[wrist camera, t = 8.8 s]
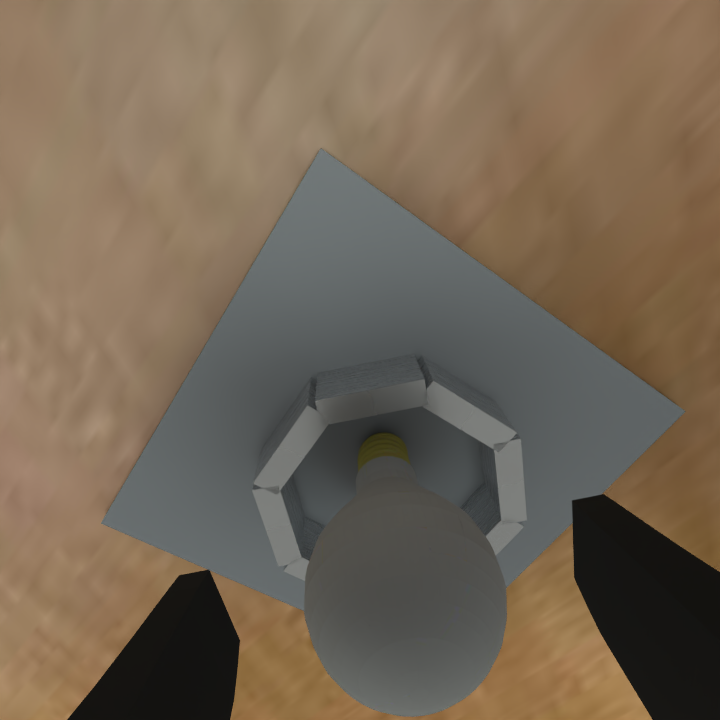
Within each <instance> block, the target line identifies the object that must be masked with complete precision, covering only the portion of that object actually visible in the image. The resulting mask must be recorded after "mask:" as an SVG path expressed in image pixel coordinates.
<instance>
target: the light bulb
mask: <svg viewBox="0 0 720 720" xmlns="http://www.w3.org/2000/svg"><path fill="white" fill-rule="evenodd" d="M357 463H358V474H357V477H356V493H357V495H356V496H355V497H354V498H353V499H352V500H350V501H349V502H348V503H347V504H346V505H345V506H344V507H342V508H341V509H340V510H339V511H338V513H337V514H336V515H335V516H334V517H333V518H332V520H331V521H330V522H329V523H328V524H327V526H326V527H325V528H324V529H323V531H322V532H321V534H320V535H319V537H318V540H317V542H316V544H315V547H314V550H313V553H312V555H311V558H310V561H309V564H308V567H307V571H306V576H305V594H304V614H305V620H306V623H307V627H308V630H309V633H310V637H311V640H312V643H313V646H314V649H315V651H316V653H317V655H318V657H319V658H320V660H321V662H322V664H323V666H324V668H325V669H326V671H327V672H328V674H329V675H330V676H331V677H332V679H333V680H334V681H335V682H336V683H337V684H338V685H339V686H340V687H341V688H342V689H343V690H344V691H345V692H346V693H347V694H348V695H350V696H351V697H352V698H354V699H355V700H357V701H358V702H360V703H361V704H363V705H365V706H367V707H369V708H371V709H373V710H377V711H380V712H383V713H388V714H392V715H397V716H412V717H414V716H424V715H429V714H433V713H436V712H440V711H442V710H444V709H447V708H449V707H451V706H452V705H454V704H456V703H458V702H459V701H461V700H463V699H464V698H466V697H467V696H468V695H470V694H471V693H472V692H473V691H474V690H475V689H476V688H477V687H478V686H479V685H480V684H481V682H482V681H483V680H484V679H485V677H486V676H487V675H488V673H489V671H490V669H491V667H492V665H493V664H494V662H495V660H496V658H497V656H498V654H499V651H500V649H501V646H502V642H503V636H504V631H505V625H506V617H507V606H506V585H505V581H504V577H503V574H502V572H501V569H500V566H499V564H498V561H497V558H496V555H495V553H494V550H493V548H492V546H491V544H490V542H489V541H488V539H487V538H486V537H485V535H484V534H483V533H482V531H481V530H480V529H479V527H478V526H477V525H476V523H475V522H474V521H473V520H472V518H471V517H470V516H469V515H468V514H467V513H466V512H464V511H463V510H462V509H461V508H459V507H458V506H456V505H455V504H453V503H452V502H450V501H448V500H447V499H445V498H444V497H442V496H440V495H438V494H436V493H434V492H432V491H429V490H427V489H425V488H423V487H421V486H419V485H418V481H417V477H416V473H415V471H414V469H413V468H412V466H411V464H410V461H409V457H408V451H407V447H406V445H405V443H404V442H403V440H402V439H401V438H399V437H398V436H396V435H394V434H391V433H386V432H382V433H377V434H374V435H372V436H370V437H368V438H367V439H366V440H365V441H364V442H363V443H362V445H361V447H360V449H359V451H358V460H357Z"/></svg>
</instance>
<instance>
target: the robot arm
mask: <svg viewBox="0 0 720 720" xmlns="http://www.w3.org/2000/svg"><path fill="white" fill-rule="evenodd" d="M572 519H573V549H574V578H575V580H576V583H577V585H578V587H579V589H580V591H581V593H582V596H583V598H584V600H585V602H586V604H587V606H588V609H589V611H590V613H591V615H592V617H593V619H594V621H595V623H596V625H597V627H598V629H599V631H600V633H601V635H602V636H603V638H604V640H605V642H606V643H607V645H608V647H609V648H610V650H611V652H612V653H613V655H614V657H615V658H616V660H617V662H618V663H619V665H620V667H621V668H622V670H623V671H624V673H625V675H626V676H627V678H628V680H629V681H630V683H631V685H632V686H633V688H634V690H635V691H636V693H637V695H638V696H639V698H640V699H641V701H642V703H643V704H644V706H645V708H646V709H647V711H648V713H649V714H650V716H651V717H652V719H653V720H720V572H719V571H717V570H716V569H714V568H712V567H711V566H709V565H708V564H706V563H705V562H703V561H702V560H700V559H698V558H697V557H695V556H694V555H692V554H691V553H689V552H688V551H686V550H685V549H683V548H682V547H680V546H679V545H677V544H676V543H674V542H673V541H671V540H670V539H668V538H667V537H666V536H664V535H663V534H661V533H660V532H658V531H657V530H655V529H654V528H652V527H651V526H649V525H648V524H646V523H645V522H644V521H642V520H641V519H639V518H638V517H636V516H635V515H633V514H632V513H630V512H629V511H627V510H626V509H625V508H623V507H622V506H620V505H619V504H617V503H616V502H614V501H613V500H611V499H610V498H608V497H607V496H605V495H604V494H602V495H597V496H592V497H586V498H581V499H576V500H572ZM239 644H240V640H239V637H238V635H237V633H236V630H235V628H234V626H233V623H232V621H231V619H230V617H229V614H228V612H227V610H226V607H225V605H224V603H223V600H222V598H221V596H220V594H219V591H218V589H217V587H216V584H215V582H214V580H213V577H212V575H211V573H210V571H209V570H205V571H200V572H194V573H189V574H184V575H179V577H178V578H177V579H176V580H175V582H174V583H173V584H172V585H171V587H170V588H169V589H168V591H167V592H166V593H165V595H164V596H163V597H162V599H161V600H160V601H159V603H158V604H157V605H156V607H155V608H154V609H153V611H152V612H151V613H150V615H149V616H148V617H147V619H146V620H145V621H144V623H143V624H142V625H141V627H140V628H139V629H138V631H137V632H136V633H135V634H134V636H133V637H132V638H131V640H130V641H129V642H128V644H127V645H126V646H125V648H124V649H123V650H122V651H121V653H120V654H119V655H118V657H117V658H116V659H115V661H114V662H113V663H112V664H111V666H110V667H109V668H108V670H107V671H106V672H105V674H104V675H103V676H102V677H101V679H100V680H99V681H98V683H97V684H96V685H95V686H94V688H93V689H92V690H91V691H90V693H89V694H88V695H87V696H86V698H85V699H84V700H83V701H82V702H81V704H80V705H79V706H78V707H77V708H76V710H75V711H74V712H73V713H72V715H71V716H70V717H69V718H68V719H67V720H230V717H231V712H232V707H233V702H234V695H235V686H236V677H237V667H238V655H239Z"/></svg>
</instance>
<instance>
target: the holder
mask: <svg viewBox="0 0 720 720" xmlns="http://www.w3.org/2000/svg"><path fill="white" fill-rule="evenodd" d="M685 412H686V411H684V410H683V409H682V408H680V407H679V406H677V405H676V404H675V403H673V402H672V401H670V400H669V399H668V398H666V397H665V396H663V395H662V394H661V393H659V392H658V391H657V390H655V389H654V388H652V387H651V386H650V385H648V384H647V383H645V382H644V381H643V380H641V379H640V378H639V377H637V376H636V375H634V374H633V373H632V372H630V371H629V370H627V369H626V368H625V367H623V366H622V365H621V364H619V363H618V362H616V361H615V360H614V359H612V358H611V357H609V356H608V355H607V354H605V353H604V352H603V351H601V350H600V349H598V348H597V347H596V346H594V345H593V344H591V343H590V342H589V341H587V340H586V339H584V338H583V337H582V336H580V335H579V334H578V333H576V332H575V331H573V330H572V329H571V328H569V327H568V326H566V325H565V324H564V323H562V322H561V321H560V320H558V319H557V318H555V317H554V316H553V315H551V314H550V313H548V312H547V311H546V310H544V309H543V308H542V307H540V306H539V305H537V304H536V303H535V302H533V301H532V300H530V299H529V298H528V297H526V296H525V295H524V294H522V293H521V292H519V291H518V290H517V289H515V288H514V287H512V286H511V285H510V284H508V283H507V282H505V281H504V280H503V279H501V278H500V277H499V276H497V275H496V274H494V273H493V272H492V271H490V270H489V269H487V268H486V267H485V266H483V265H482V264H481V263H479V262H478V261H476V260H475V259H474V258H472V257H471V256H469V255H468V254H467V253H465V252H464V251H463V250H461V249H460V248H458V247H457V246H456V245H454V244H453V243H451V242H450V241H449V240H447V239H446V238H445V237H443V236H442V235H440V234H439V233H438V232H436V231H435V230H433V229H432V228H431V227H429V226H428V225H426V224H425V223H424V222H422V221H421V220H420V219H418V218H417V217H415V216H414V215H413V214H411V213H410V212H408V211H407V210H406V209H404V208H403V207H402V206H400V205H399V204H397V203H396V202H395V201H393V200H392V199H390V198H389V197H388V196H386V195H385V194H384V193H382V192H381V191H379V190H378V189H377V188H375V187H374V186H372V185H371V184H370V183H368V182H367V181H366V180H364V179H363V178H361V177H360V176H359V175H357V174H356V173H354V172H353V171H352V170H350V169H349V168H347V167H346V166H345V165H343V164H342V163H341V162H339V161H338V160H336V159H335V158H334V157H332V156H331V155H329V154H328V153H327V152H325V151H324V150H323V149H320V151H319V153H318V154H317V156H316V158H315V159H314V161H313V163H312V164H311V166H310V168H309V170H308V171H307V173H306V175H305V176H304V178H303V180H302V181H301V183H300V185H299V187H298V188H297V190H296V192H295V193H294V195H293V197H292V199H291V200H290V202H289V204H288V205H287V207H286V209H285V210H284V212H283V214H282V216H281V217H280V219H279V221H278V222H277V224H276V226H275V227H274V229H273V231H272V233H271V234H270V236H269V238H268V239H267V241H266V243H265V245H264V246H263V248H262V250H261V251H260V253H259V255H258V256H257V258H256V260H255V262H254V263H253V265H252V267H251V268H250V270H249V272H248V273H247V275H246V277H245V279H244V280H243V282H242V284H241V285H240V287H239V289H238V291H237V292H236V294H235V296H234V297H233V299H232V301H231V302H230V304H229V306H228V308H227V309H226V311H225V313H224V314H223V316H222V318H221V320H220V321H219V323H218V325H217V326H216V328H215V330H214V331H213V333H212V335H211V337H210V338H209V340H208V342H207V343H206V345H205V347H204V348H203V350H202V352H201V354H200V355H199V357H198V359H197V360H196V362H195V364H194V366H193V367H192V369H191V371H190V372H189V374H188V376H187V377H186V379H185V381H184V383H183V384H182V386H181V388H180V389H179V391H178V393H177V394H176V396H175V398H174V400H173V401H172V403H171V405H170V406H169V408H168V410H167V412H166V413H165V415H164V417H163V418H162V420H161V422H160V423H159V425H158V427H157V429H156V430H155V432H154V434H153V435H152V437H151V439H150V440H149V442H148V444H147V446H146V447H145V449H144V451H143V452H142V454H141V456H140V458H139V459H138V461H137V463H136V464H135V466H134V468H133V469H132V471H131V473H130V475H129V476H128V478H127V480H126V481H125V483H124V485H123V486H122V488H121V490H120V492H119V493H118V495H117V497H116V498H115V500H114V502H113V504H112V505H111V507H110V509H109V510H108V512H107V514H106V515H105V517H104V519H103V521H102V522H101V524H104V525H106V526H108V527H111V528H113V529H115V530H118V531H120V532H122V533H125V534H127V535H129V536H131V537H134V538H136V539H138V540H141V541H143V542H145V543H148V544H150V545H152V546H155V547H157V548H159V549H162V550H164V551H166V552H169V553H171V554H173V555H176V556H178V557H180V558H182V559H185V560H187V561H189V562H192V563H194V564H196V565H199V566H201V567H203V568H206V569H208V570H210V571H213V572H215V573H217V574H220V575H222V576H224V577H227V578H229V579H231V580H233V581H236V582H238V583H240V584H243V585H245V586H247V587H250V588H252V589H254V590H257V591H259V592H261V593H264V594H266V595H268V596H271V597H273V598H275V599H278V600H280V601H282V602H284V603H287V604H289V605H291V606H294V607H296V608H298V609H301V610H303V611H304V594H305V576H306V571H307V567H308V564H309V561H310V558H311V555H312V553H313V550H314V547H315V544H316V542H317V540H318V537H319V535H320V534H321V532H322V531H323V529H324V528H325V527H326V526H327V524H328V523H329V522H330V521H331V520H332V518H333V517H334V516H335V515H336V514H337V513H338V511H339V510H340V509H341V508H342V507H344V506H345V505H346V504H347V503H348V502H349V501H350V500H352V499H353V498H354V497H355V496H356V495H357V493H356V477H357V474H358V463H357V460H358V451H359V449H360V447H361V445H362V443H363V442H364V441H365V440H366V439H367V438H368V437H370V436H372V435H374V434H377V433H382V432H386V433H391V434H394V435H396V436H398V437H399V438H401V439H402V440H403V442H404V443H405V445H406V447H407V451H408V457H409V461H410V464H411V466H412V468H413V469H414V471H415V473H416V477H417V481H418V485H419V486H421V487H423V488H425V489H427V490H429V491H432V492H434V493H436V494H438V495H440V496H442V497H444V498H445V499H447V500H448V501H450V502H452V503H453V504H455V505H456V506H458V507H459V508H461V509H462V510H463V511H464V512H466V513H467V514H468V515H469V516H470V517H471V518H472V520H473V521H474V522H475V523H476V525H477V526H478V527H479V529H480V530H481V531H482V533H483V534H484V535H485V537H486V538H487V539H488V541H489V542H490V544H491V546H492V548H493V550H494V553H495V555H496V558H497V561H498V564H499V566H500V569H501V572H502V574H503V577H504V581H505V585H506V588H507V587H508V586H509V585H510V584H511V583H512V582H513V581H514V580H515V579H516V578H517V577H518V576H519V575H520V574H521V573H522V572H523V571H524V570H525V569H526V568H527V567H528V566H529V565H530V564H531V563H532V562H533V561H534V560H535V559H536V558H537V557H538V556H539V555H540V554H541V553H542V552H543V551H544V550H545V549H546V548H547V547H548V546H549V545H550V544H551V543H552V542H553V541H554V540H555V539H556V538H557V537H558V536H559V535H560V534H561V533H563V532H564V531H565V530H566V529H567V528H568V527H569V526H570V525H571V524H572V523H573V519H572V500H576V499H581V498H586V497H592V496H597V495H601V494H602V493H603V492H604V491H605V490H606V489H607V488H608V487H609V486H610V485H611V484H612V483H613V482H614V481H615V480H616V479H617V478H618V477H619V476H620V475H621V474H623V473H624V472H625V471H626V470H627V469H628V468H629V467H630V466H631V465H632V464H633V463H634V462H635V461H636V460H637V459H638V458H639V457H640V456H641V455H642V454H643V453H644V452H645V451H646V450H647V449H648V448H649V447H650V446H651V445H652V444H653V443H654V442H655V441H656V440H657V439H658V438H659V437H660V436H661V435H662V434H663V433H664V432H665V431H666V430H667V429H668V428H669V427H670V426H671V425H672V424H673V423H674V422H675V421H676V420H677V419H678V418H679V417H680V416H681V415H683V414H684V413H685Z"/></svg>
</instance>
